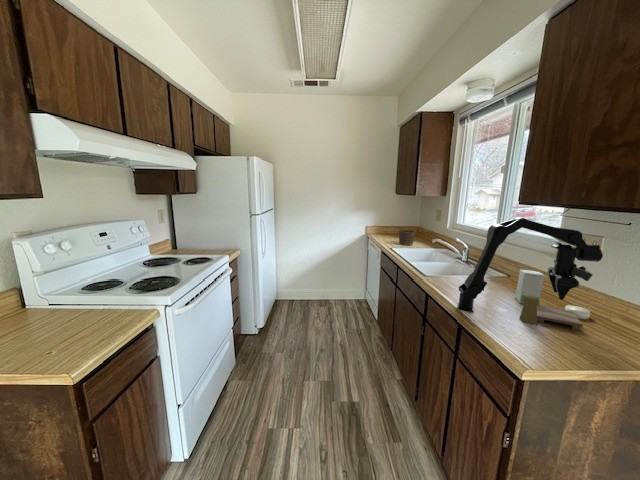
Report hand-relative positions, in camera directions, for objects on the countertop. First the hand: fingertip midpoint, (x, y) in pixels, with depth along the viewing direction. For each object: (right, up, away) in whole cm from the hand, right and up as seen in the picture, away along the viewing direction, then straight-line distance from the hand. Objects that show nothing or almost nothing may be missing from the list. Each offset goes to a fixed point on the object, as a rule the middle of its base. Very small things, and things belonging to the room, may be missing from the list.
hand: (558, 295), depth 110 cm
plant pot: (-14, +16, +152) cm, 154 cm away
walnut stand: (0, -11, +2) cm, 11 cm away
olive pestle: (-12, -11, +1) cm, 17 cm away
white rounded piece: (+15, -10, +7) cm, 19 cm away
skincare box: (+3, -8, +21) cm, 22 cm away
